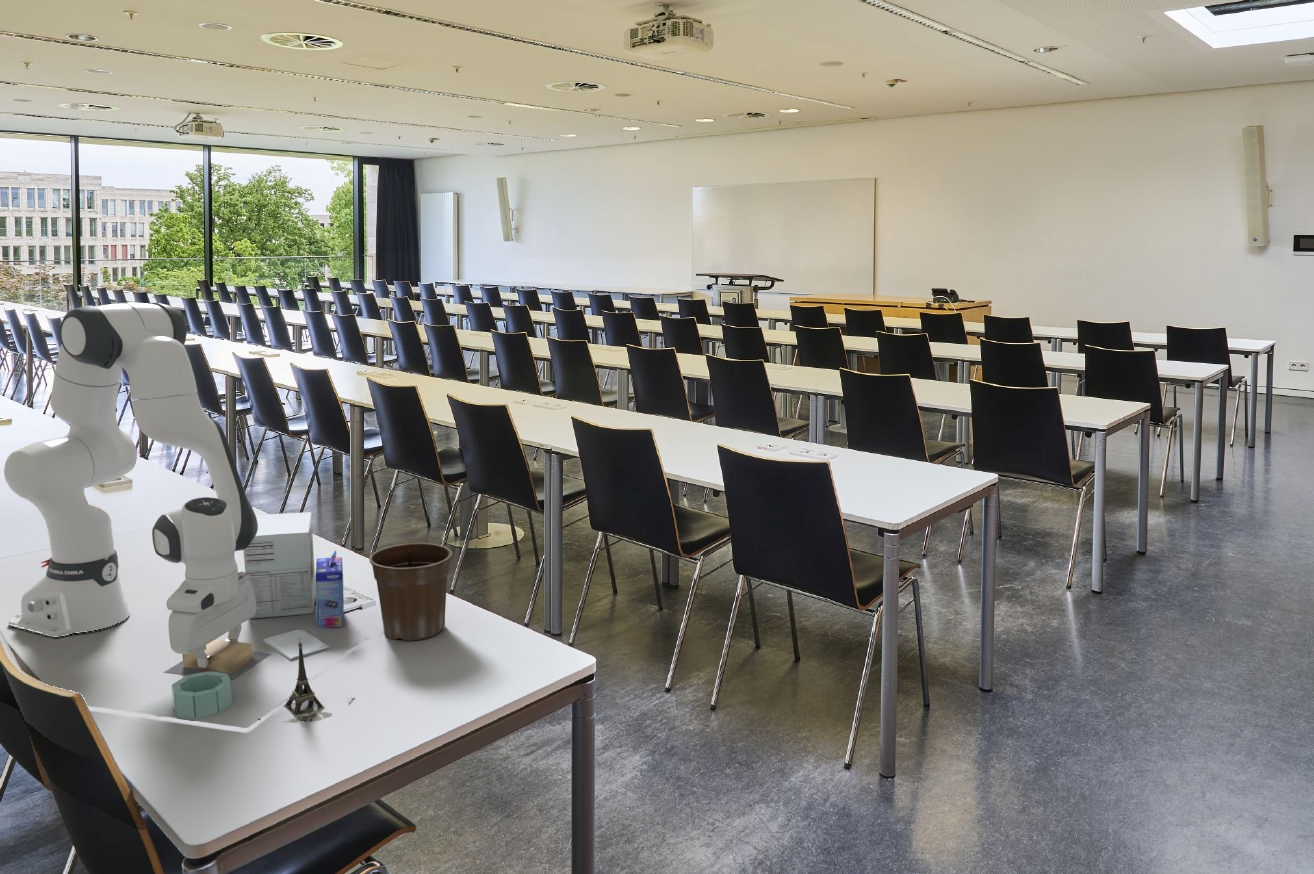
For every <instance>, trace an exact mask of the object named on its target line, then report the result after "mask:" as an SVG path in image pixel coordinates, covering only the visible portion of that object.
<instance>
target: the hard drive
mask: <svg viewBox="0 0 1314 874" xmlns="http://www.w3.org/2000/svg"><path fill="white" fill-rule="evenodd" d="M262 642H263V643H264V644H266V645H267V646H268V647H270V648H271V649H273V650H274V651H275V652H277V653H279V655H281V656H283V657H284V658H286V659H287V660H288V661H295V660H299V647H298V644H299V642H301V643H302V645H303V646H302V652H303V658H305V657H309V656H311V655H314V654H318V653H321V652H325V651H328V650H331V649H332V648H331V647H330V646H329V645H327V644H326V643H324V642H323V641H321V640H319V639H318V638H317V637H315V636H313V635H312V634H311V633H308V632H307V631H305V630H304V629H295V630H291V631H288V632H284V633H281V634H277V635H273V636H270V637H266V638H264V639H262Z"/></svg>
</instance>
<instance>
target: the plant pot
mask: <svg viewBox="0 0 1314 874" xmlns="http://www.w3.org/2000/svg"><path fill="white" fill-rule="evenodd" d="M452 557H453V550H451V549H450V548H448V547H447V546H445V545H441V544H437V543H426V542H413V543H402V544H395V545H391V546H386V547H384V548H381V549H379V550H377V551H374V552H373V553H372V554H370V556H369V557H368V558H369V563H370V565H372V566H371V567H372V571H373V578H374V580H375V581H376V585H377V587H376V588H377V592H378V599H379V600H378V601H379V605H380V606H379V607H380V611H381V613H380V614H381V619H382V620H381V621H382V625H383V632H384V634H385V636H387V638H390V639H393V640H398V639H403V640H404V641H419V640H425V639H429V638H431V637H434V636H436V635H439V634H440V632H441V631H443V630H444V629H445V626H446V603H447V601H446V600H447V588H448V587H447V586H448V585H447V584H448V575H449V572H450V564H451V563H450V561H451V558H452Z"/></svg>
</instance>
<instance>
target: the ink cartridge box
mask: <svg viewBox="0 0 1314 874" xmlns="http://www.w3.org/2000/svg"><path fill="white" fill-rule="evenodd" d="M315 565H316V566H315V567H316V568H315V580H316V595H315V604H316V605H315V608H316V610H315V611H316V612H315V613H316V627H318V628H324V629H325V628H326V629H327V628H342V627H344V612H345V611H344V610H345V607H344V573H343V570H344V569H343V567H344V566H343V557H339V556H338V557H337V550H334V552H333V554H331V557H322V558H320V557H319V558H316V563H315Z"/></svg>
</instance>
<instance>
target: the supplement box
mask: <svg viewBox="0 0 1314 874" xmlns="http://www.w3.org/2000/svg"><path fill="white" fill-rule="evenodd" d="M255 516H256V519H257V523H258V531H257V534H256V536H255V537H254V539H253V541H252V542H251V543H250V545H249V546H248V547H247V548H246V549H244V550H242V551H243V559H244V563H243V564H244V572H245V573H247V574H248V575H249V576H250V583H251V584H252V586H253V589H254V593H255V598H256V605H257V610H256V613H255V616H253V617H252V618H250V619H249V620H251V619H263V618H272V617H273V618H274V617H275V618H276V617H286V616H298V615H299V616H300V615H311V614H313V612H314V606H315V603H316V568H315V556H314V554H315V553H314V540H313V539H314V538H313V513H312V512H311V511H308V512H307V511H306V512H289V513H288V512H287V513H269V514H267V513H266V514H255Z"/></svg>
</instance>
